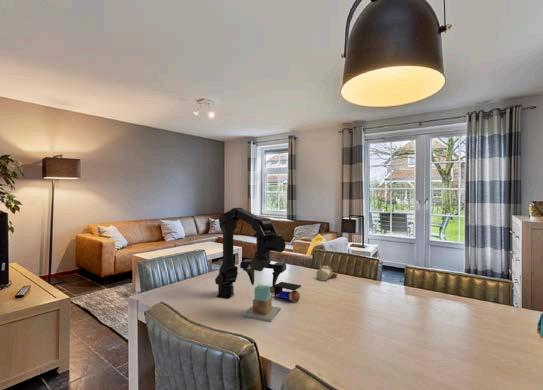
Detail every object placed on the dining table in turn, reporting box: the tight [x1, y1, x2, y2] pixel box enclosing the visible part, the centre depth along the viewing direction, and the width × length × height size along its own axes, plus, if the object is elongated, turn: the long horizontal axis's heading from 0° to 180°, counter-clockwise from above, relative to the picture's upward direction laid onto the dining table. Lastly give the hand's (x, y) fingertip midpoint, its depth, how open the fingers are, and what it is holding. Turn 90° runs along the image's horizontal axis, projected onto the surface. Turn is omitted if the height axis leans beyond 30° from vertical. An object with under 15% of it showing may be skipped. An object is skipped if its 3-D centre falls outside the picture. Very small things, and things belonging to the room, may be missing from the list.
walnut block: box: [252, 296, 273, 315], centre depth 119 cm, size 6×6×5 cm
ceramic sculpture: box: [316, 264, 339, 282], centre depth 168 cm, size 11×9×15 cm
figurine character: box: [270, 281, 302, 303], centre depth 135 cm, size 7×8×15 cm
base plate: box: [242, 305, 282, 323], centre depth 119 cm, size 12×12×1 cm
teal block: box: [253, 284, 271, 302], centre depth 119 cm, size 5×5×5 cm
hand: (262, 286), depth 119 cm, fingers open, 9 cm apart
